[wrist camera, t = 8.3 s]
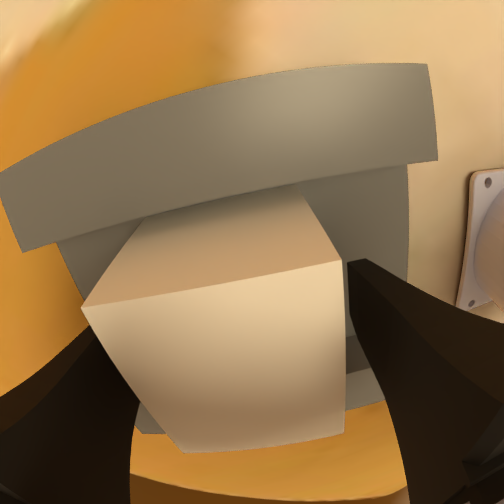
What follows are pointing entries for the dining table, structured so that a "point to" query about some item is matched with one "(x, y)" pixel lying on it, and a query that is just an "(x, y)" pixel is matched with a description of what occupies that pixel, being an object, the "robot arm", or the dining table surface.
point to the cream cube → (229, 322)
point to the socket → (240, 172)
